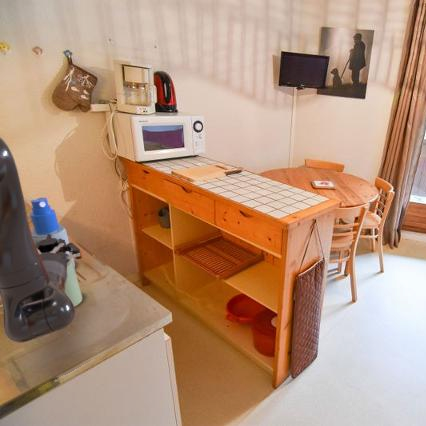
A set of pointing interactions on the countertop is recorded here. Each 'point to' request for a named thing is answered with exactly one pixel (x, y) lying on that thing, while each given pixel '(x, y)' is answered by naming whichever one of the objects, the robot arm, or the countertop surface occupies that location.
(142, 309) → the countertop surface
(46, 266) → the robot arm
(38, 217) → the spray bottle
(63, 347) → the countertop surface
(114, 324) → the countertop surface
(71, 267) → the dispenser
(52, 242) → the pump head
